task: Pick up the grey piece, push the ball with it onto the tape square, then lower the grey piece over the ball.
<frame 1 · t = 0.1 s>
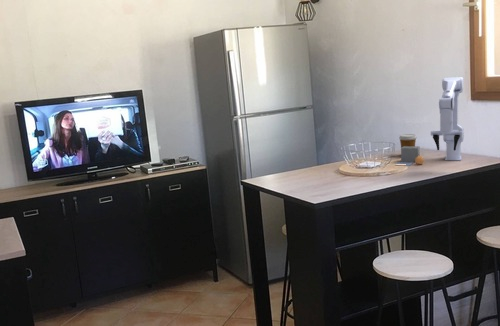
hand: (446, 150, 262), 10 cm above the table, tool pointing down, fingers open, 7 cm apart
tape square: (404, 164, 284), on the table
ball: (419, 160, 280), on the table
disposable coffee cup: (408, 156, 304), on the table
grey piece: (410, 161, 290), on the table
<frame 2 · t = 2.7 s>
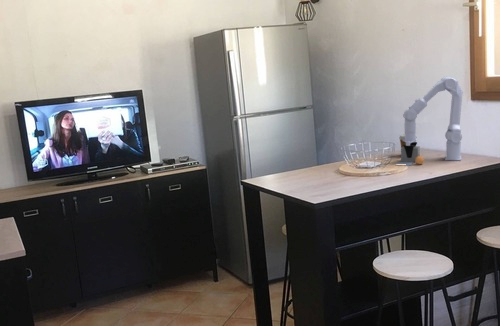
hand: (410, 156, 289), 3 cm above the table, tool pointing down, fingers closed on grey piece, 6 cm apart
grey piece: (410, 161, 290), on the table, touching gripper
everything else where it was.
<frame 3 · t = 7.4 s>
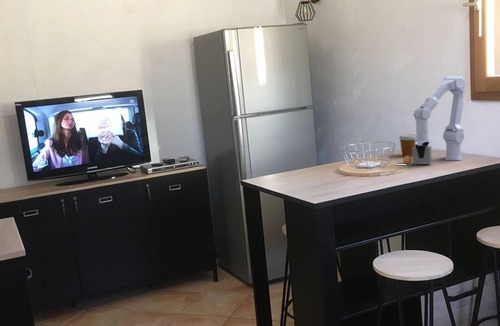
hand: (422, 156, 279), 4 cm above the table, tool pointing down, fingers closed on grey piece, 6 cm apart
ball: (407, 160, 283), on the table
grey piece: (422, 161, 280), point 1 cm above the table, touching gripper
everything else where it was.
when the fingers open (3 cm above the table, at t = 14.7 s): grey piece stays where it is, on the table.
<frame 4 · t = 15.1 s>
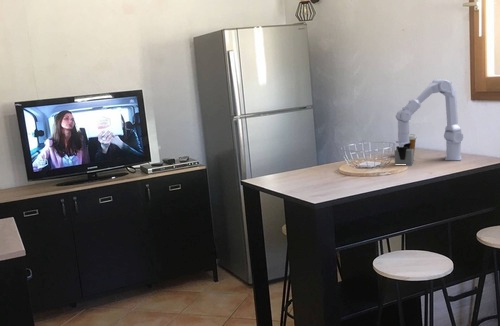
hand: (403, 158, 284), 3 cm above the table, tool pointing down, fingers open, 7 cm apart
grey piece: (404, 164, 284), on the table
everything else where it was.
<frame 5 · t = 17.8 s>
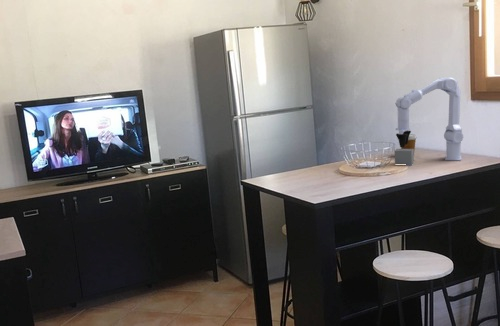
hand: (403, 145, 282), 10 cm above the table, tool pointing down, fingers open, 7 cm apart
nothing on the table moved.
at the end: ball 1.8 cm from the grey piece (horizontally); grey piece on the table; ball moved 6.1 cm from its start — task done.
